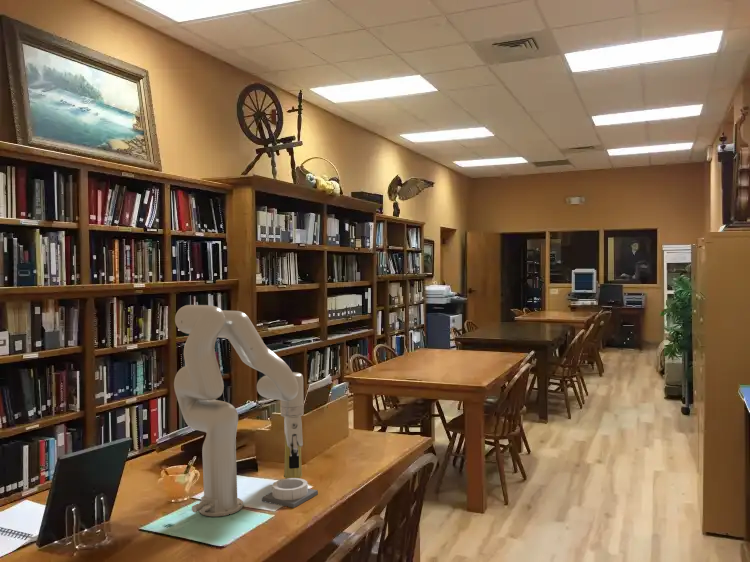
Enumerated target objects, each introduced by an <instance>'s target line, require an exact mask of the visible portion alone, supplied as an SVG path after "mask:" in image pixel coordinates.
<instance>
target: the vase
mask: <svg viewBox="0 0 750 562" xmlns="http://www.w3.org/2000/svg"><path fill="white" fill-rule="evenodd" d="M291 446H293V445H291ZM292 449H293V448H292ZM298 452H299V468H293V469H290V468H289V456H290V448H289V447H288V446H287V442H286V435H285V434H284V471H283V479H286V478H300V479H301V478H302V477H303V467H302V465H303V464H302V447H301V446H299V444H298Z"/></svg>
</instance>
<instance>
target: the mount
mask: <svg viewBox="0 0 750 562" xmlns="http://www.w3.org/2000/svg"><path fill="white" fill-rule="evenodd" d="M271 489H272V491H271V492H269V493H267V494H266V495H263V496H262V497H261V499H262V500H261V501H262V502H264V501H266V502H265V503H269V502H271V503H270V504H274V503H275V505H278V504H279V505H278V506H283V507H287V506H288V507H289V508H294V507H295V508H296V507H298V506H300V505H301V504H303V503H305V502H308V501H309V500H310V499H313V498H314V497H316V496H318V494H319V490H317V489H312V488H308V481H307V480H306V479H304V478H301V477H300V478H282V479H279V480H277V481H275V482H273V484H272V486H271ZM295 508H294V509H295Z"/></svg>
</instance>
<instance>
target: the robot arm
mask: <svg viewBox="0 0 750 562" xmlns="http://www.w3.org/2000/svg"><path fill="white" fill-rule="evenodd" d="M174 322H175V325H176V327H177V329H178V330H179V331H180V332H182V333H184V334H188V337H187V338H186V341H185V344H184V348H183V357H184V362H185V365H184V366H182V367H181V368H179V370H178V371H177V372H176V374H175V377H174V380H173V387H174V393H175V397H176V399H177V402H178V406H179V408H180V409H179V410H180V413H181V414H182V418H183V420H184V422H185V423H186V425H187V426H188V427H189V428H191V429H192V430H196V431H200V432H204V433H206V434H205V435H206V436H205V438H204V441H203V443H202V448H201V449H202V450H201V451H202V452H201V453H202V454H201V455H202V474H203V475H202V476H203V477H202V479H203V496H201V498H200V500H201V501H199V502H198V503H196V504H194V505H192V506H191V511H192V513H197V512H199V514H200V515H202V516H206V517H212V518H213V517H223V516H224V517H225V516H229V514H230V515H232V514H235V513H237V512H239V511H240V510H242V509H243V507H244V501H243V500H242V499H240V498H238V477H237V475H238V474H237V448H236V445H237V439H236V437H237V430H238V424H239V414H238V411H237V409H236V408H235V406H234V405H233V404H231V403H229V402H227V401H223V400H218V398H220V397H221V396H222V395H223V392H224V389H225V388H224V387H225V385H224V379H223V376H222V373H221V370H220V366H219V362H218V360H217V355H216V351H215V345H216V342H217V340H218V339H217V338H222V339H227V340H228V341H229V343H230V344H231V345H232V347H233V348H234V350H235V352H236V354H237V355H238V356H239V358H240V360H241V361H242V363H244V364H245V365H246V366H249V368H252V369H254V370H256V371H258V372H260V373H262V374H263V376H262V377H260V378H259V379H258V380H257V384H256V391H257V393H258V394H259V395H260V396H261V397H263V398H265V399H271V400H277V401H278V400H279V401H280V416H281V417H283V419H284V423H283V425H284V427H283V428H284V436H285V435H286V442H287V446H288V447H289V448H290V456H289V468H290V469H293V468H299V452H298V444H299V446H301V448H302V447H303V445H304V442H303V423H302V416H304V414H305V413H304V412H305V409H304V404H305V403H304V401H305V400H304V399H305V398H304V396H305V395H304V376H303V374H302V373H300V372H295V371H292V369H291V368H290V366H289V365H288V364H287V363H286V361H284V360H283V359H282V358H281V357H279V356H278V355H277V354H276V353H275V352H274V351H272V350H271V349H270V348H269V347H267V345H266V344H265V343H264V340H263V338H262V337H261V336H260V333H259V332H258V331H257V328H256V327H255V325H254V324H253V322H252V321H251V319H250V318H249V316H248V315H247V314H246V313H245V312H243V311H240V310H225V309H224V310H222V309H221V308H220V307H218V306H215V305H209V304H186V305H184V306H182V307H180V308H179V309H178V310H177V312H176V314H175V317H174ZM291 445H293V446H291ZM292 448H293V449H292Z"/></svg>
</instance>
